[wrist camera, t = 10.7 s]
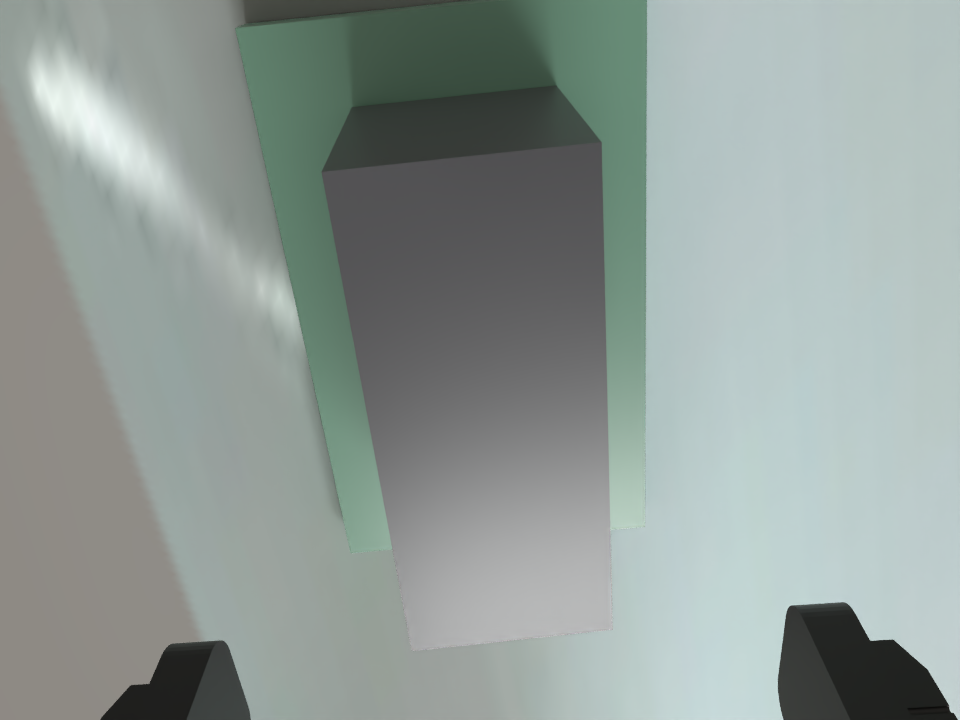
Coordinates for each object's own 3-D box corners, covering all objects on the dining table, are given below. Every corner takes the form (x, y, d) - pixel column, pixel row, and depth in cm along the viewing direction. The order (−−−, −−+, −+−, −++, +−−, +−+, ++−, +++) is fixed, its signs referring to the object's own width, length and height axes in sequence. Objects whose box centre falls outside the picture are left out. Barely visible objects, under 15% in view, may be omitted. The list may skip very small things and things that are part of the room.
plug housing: (556, 85, 20) (601, 141, 14) (575, 483, 25) (612, 629, 20) (351, 107, 20) (321, 171, 14) (416, 500, 25) (411, 651, 20)
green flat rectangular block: (638, -18, 20) (661, -10, 17) (638, 507, 27) (654, 558, 25) (245, 24, 20) (218, 35, 18) (353, 532, 27) (345, 586, 25)
